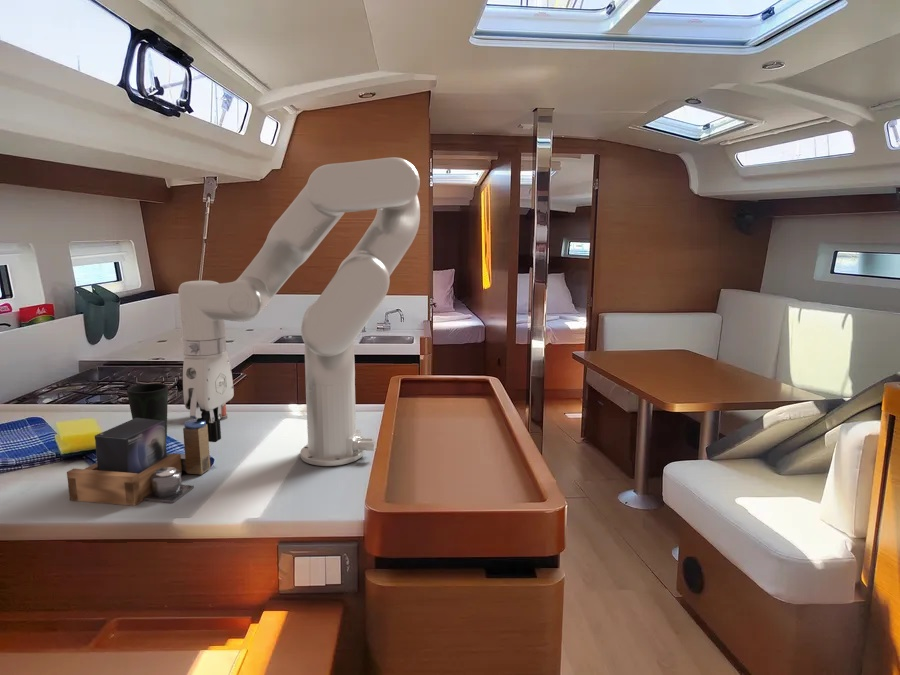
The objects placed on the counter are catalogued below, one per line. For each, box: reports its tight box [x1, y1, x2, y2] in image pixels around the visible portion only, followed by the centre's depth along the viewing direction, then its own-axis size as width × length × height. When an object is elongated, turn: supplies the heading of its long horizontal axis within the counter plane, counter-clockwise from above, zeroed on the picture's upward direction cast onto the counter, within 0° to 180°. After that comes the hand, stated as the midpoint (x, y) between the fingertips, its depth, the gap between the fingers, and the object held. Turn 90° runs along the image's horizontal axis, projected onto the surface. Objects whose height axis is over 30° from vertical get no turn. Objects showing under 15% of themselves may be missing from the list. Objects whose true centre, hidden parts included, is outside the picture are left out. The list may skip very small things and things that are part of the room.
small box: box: [94, 418, 168, 474], centre depth 106 cm, size 11×6×10 cm, turn 170°
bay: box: [66, 452, 183, 507], centre depth 105 cm, size 12×13×5 cm
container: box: [167, 418, 211, 475], centre depth 112 cm, size 14×4×10 cm, turn 81°
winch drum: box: [142, 467, 195, 504], centre depth 102 cm, size 6×6×4 cm
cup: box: [126, 382, 169, 438], centre depth 126 cm, size 8×8×12 cm
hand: (211, 440), depth 116 cm, fingers closed
